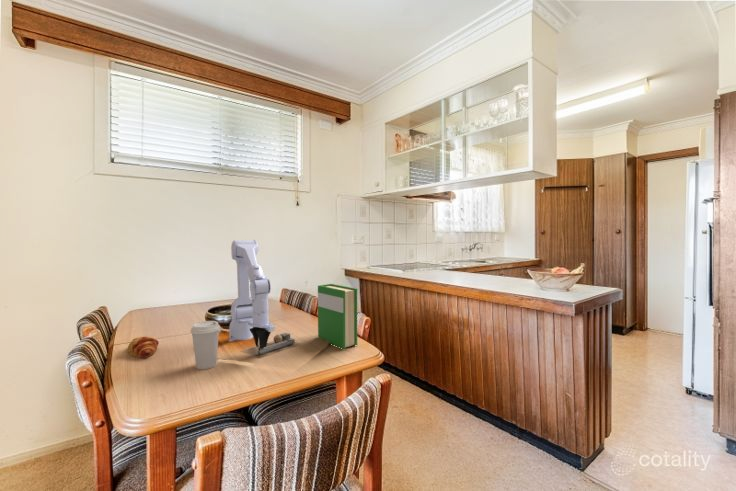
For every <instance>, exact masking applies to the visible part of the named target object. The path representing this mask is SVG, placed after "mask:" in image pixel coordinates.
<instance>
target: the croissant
mask: <svg viewBox="0 0 736 491" xmlns="http://www.w3.org/2000/svg"><path fill="white" fill-rule="evenodd" d="M159 344H160V342H159V340H158V339H157V338H156V337H153V336H147V335H146V336H139V337H136V338H133V339H132V340H131V341H130V342H129V343H128V345H127V351H126V353H127V354H129V355H130V356H132V357H138V358H142V359H143V358H144V359H146V358H148V357H150V356H153V355H154V354H156V351H157V349H158V346H159Z"/></svg>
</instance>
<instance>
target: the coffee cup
mask: <svg viewBox="0 0 736 491" xmlns="http://www.w3.org/2000/svg"><path fill="white" fill-rule="evenodd" d="M220 330H221V325H220V324H219V322H218V321H215V320H205V321H200V322H196V323H193V325H192V327H191V328H190V331H189V332H190V334H191V336H192V344H193V351H194V361H195V368H196V370H210V369H213V368H214V367H216V366H217V363H218V362H217V361H218V350H219V349H218V348H219V337H220V336H219V334H220Z"/></svg>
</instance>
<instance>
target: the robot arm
mask: <svg viewBox="0 0 736 491" xmlns="http://www.w3.org/2000/svg"><path fill="white" fill-rule="evenodd" d="M258 251H259V244H258V241H257V240H255V239H252V240H250V239H249V240H233V241H232V242H231V252H230V253H231V259H232V260H234V261H235V262H236V271H237V272H236V275H237V277H236V278H237V279H236V280H237V298H236V299H235V300H234V301H232V302H231V307H230V316H231V317H230V318H231V321H230V323H229V326H228V327H229V328H228V330H229V333H228V334H229V339H228V340H227V341H228V342H234V341H246V340H251V339H253V340H254V344H255V347H258V337H259V344H260V348H261V349H262V348H265V347H266V345H267V343H268V342H269V341H268V340H269V337H270V335H271V333H272V332H274V331H275V325H273V324H272V323H271V322H270V320H269V319H270V318H269V294H270V293H271V289H272V288H271V287H272V286H271V281H270V279H269V278H267V276H265V273H264V271H263V267H262V266H261V265H260V264H258V260H257V254H258Z"/></svg>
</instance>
